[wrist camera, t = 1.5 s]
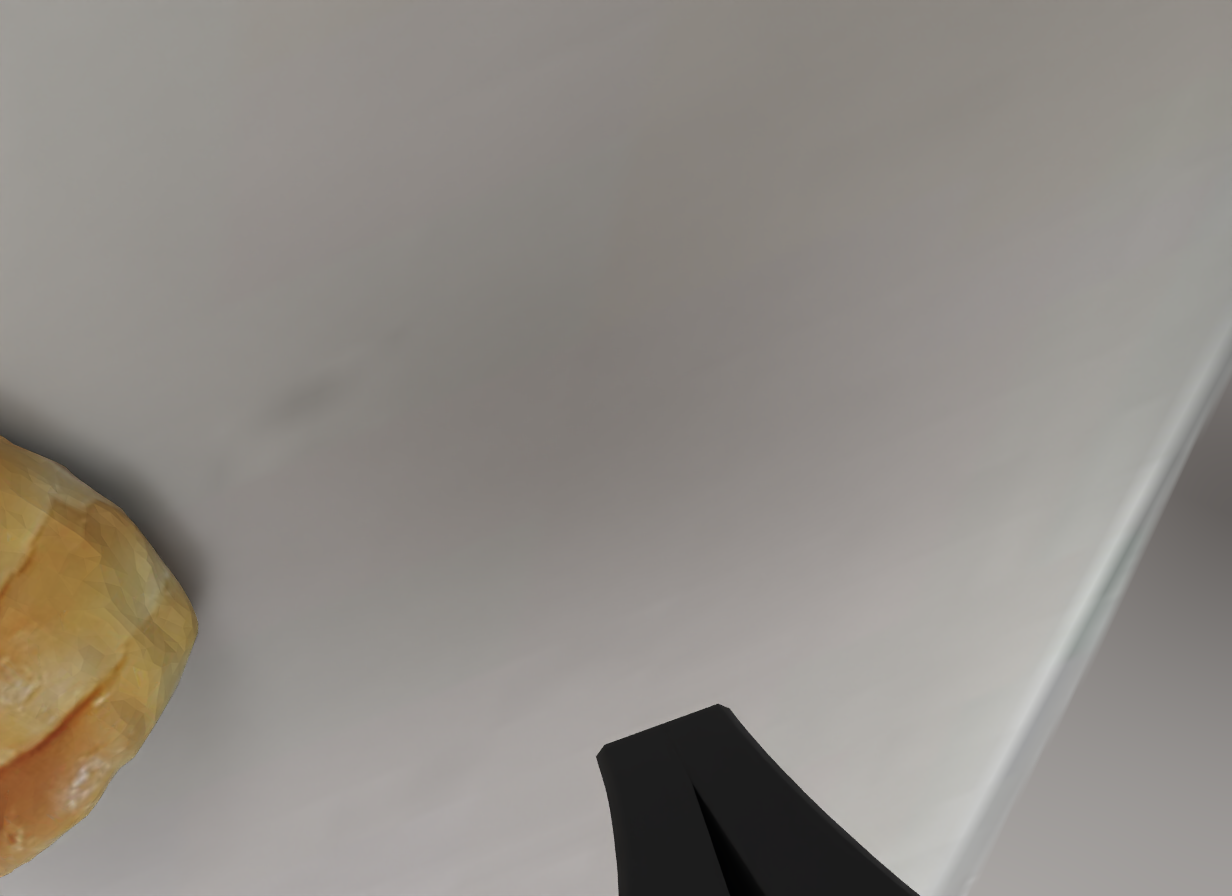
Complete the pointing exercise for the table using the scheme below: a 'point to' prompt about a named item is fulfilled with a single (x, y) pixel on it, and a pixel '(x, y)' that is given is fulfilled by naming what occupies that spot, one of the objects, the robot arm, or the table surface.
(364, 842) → the table surface
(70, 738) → the pastry
